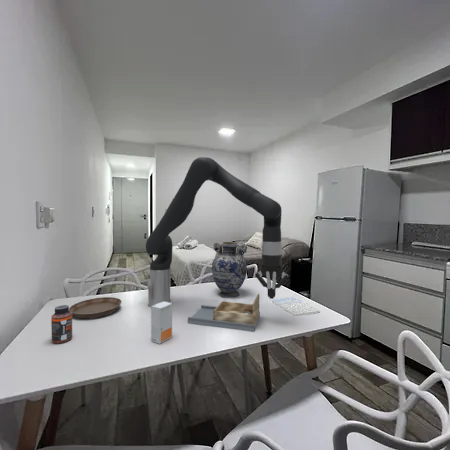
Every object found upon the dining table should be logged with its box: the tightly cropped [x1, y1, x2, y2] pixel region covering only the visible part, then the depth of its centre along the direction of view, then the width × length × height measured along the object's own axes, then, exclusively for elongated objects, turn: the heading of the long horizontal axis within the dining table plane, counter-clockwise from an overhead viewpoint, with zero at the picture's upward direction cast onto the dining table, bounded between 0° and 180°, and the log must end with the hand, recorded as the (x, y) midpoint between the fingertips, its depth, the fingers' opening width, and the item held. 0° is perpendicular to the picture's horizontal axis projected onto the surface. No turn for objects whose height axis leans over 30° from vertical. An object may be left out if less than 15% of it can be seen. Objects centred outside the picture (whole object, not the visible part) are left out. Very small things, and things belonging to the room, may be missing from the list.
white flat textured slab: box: [271, 296, 321, 317], centre depth 120 cm, size 13×20×2 cm, turn 19°
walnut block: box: [244, 306, 253, 315], centre depth 105 cm, size 4×4×3 cm
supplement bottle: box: [50, 304, 73, 344], centre depth 87 cm, size 6×6×11 cm
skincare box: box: [150, 301, 173, 345], centre depth 88 cm, size 6×4×12 cm
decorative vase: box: [211, 241, 248, 298], centre depth 138 cm, size 21×19×28 cm
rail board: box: [187, 304, 261, 332], centre depth 105 cm, size 26×15×2 cm, turn 74°
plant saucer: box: [69, 296, 122, 320], centre depth 114 cm, size 21×21×3 cm
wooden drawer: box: [213, 293, 260, 326], centre depth 103 cm, size 16×12×9 cm
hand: (271, 298), depth 99 cm, fingers closed
